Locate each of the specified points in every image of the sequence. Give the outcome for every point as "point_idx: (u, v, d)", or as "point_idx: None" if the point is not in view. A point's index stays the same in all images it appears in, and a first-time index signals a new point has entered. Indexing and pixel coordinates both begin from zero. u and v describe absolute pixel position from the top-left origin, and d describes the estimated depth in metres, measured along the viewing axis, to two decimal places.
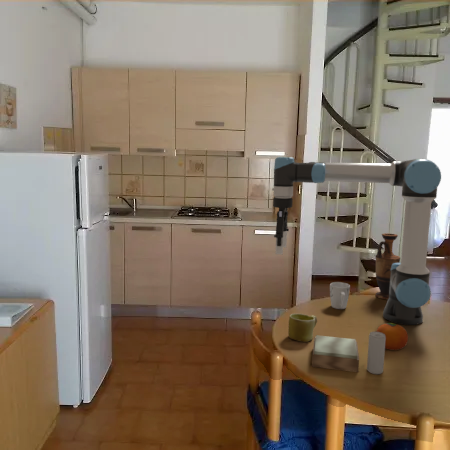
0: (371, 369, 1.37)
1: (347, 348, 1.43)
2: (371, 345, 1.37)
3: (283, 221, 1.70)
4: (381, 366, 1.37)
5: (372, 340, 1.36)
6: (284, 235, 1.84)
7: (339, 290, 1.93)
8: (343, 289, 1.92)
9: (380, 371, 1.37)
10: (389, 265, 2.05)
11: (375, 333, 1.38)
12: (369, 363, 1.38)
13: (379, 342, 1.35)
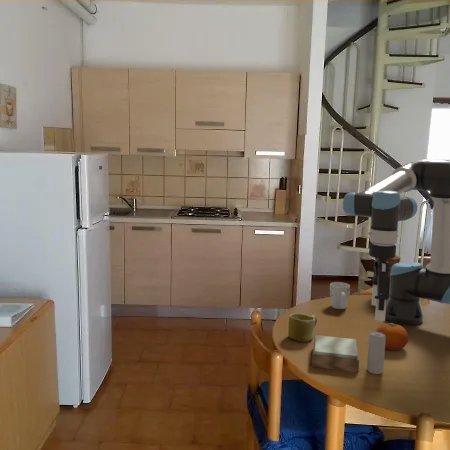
0: (371, 369, 1.37)
1: (347, 348, 1.43)
2: (371, 345, 1.37)
3: None
4: (381, 366, 1.37)
5: (372, 340, 1.36)
6: None
7: (339, 290, 1.93)
8: (343, 289, 1.92)
9: (380, 371, 1.37)
10: (389, 265, 2.05)
11: (375, 333, 1.38)
12: (369, 363, 1.38)
13: (379, 342, 1.35)
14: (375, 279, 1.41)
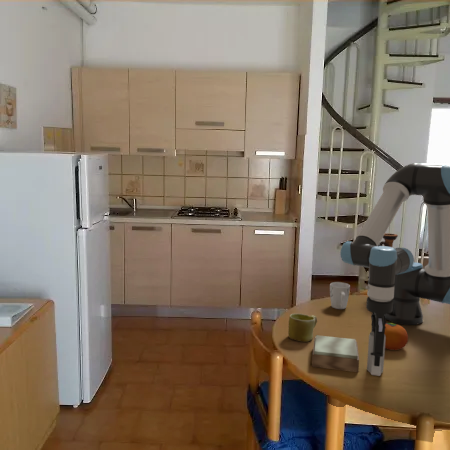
0: None
1: (347, 348, 1.43)
2: (371, 345, 1.37)
3: (383, 335, 1.32)
4: (381, 366, 1.37)
5: (372, 340, 1.36)
6: None
7: (339, 290, 1.93)
8: (343, 289, 1.92)
9: None
10: None
11: None
12: (369, 363, 1.38)
13: None
14: None
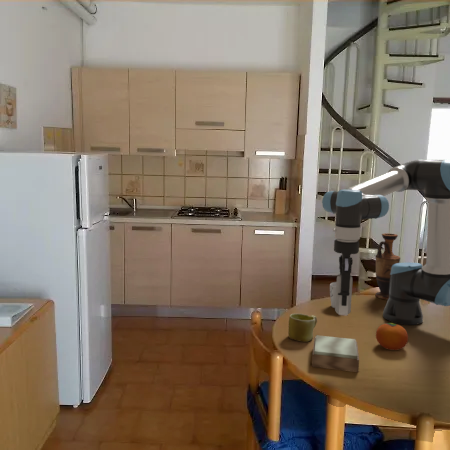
0: None
1: (347, 348, 1.43)
2: (338, 286, 1.41)
3: None
4: (348, 306, 1.41)
5: (339, 281, 1.40)
6: None
7: None
8: None
9: None
10: (389, 265, 2.05)
11: None
12: (337, 304, 1.42)
13: None
14: None
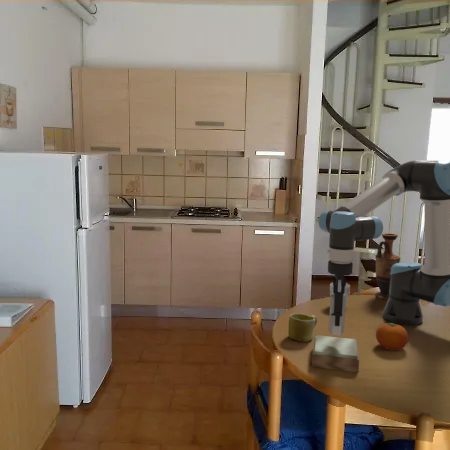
0: None
1: (347, 348, 1.43)
2: (331, 306, 1.43)
3: (342, 296, 1.38)
4: (341, 327, 1.43)
5: (332, 301, 1.42)
6: None
7: None
8: None
9: (341, 331, 1.43)
10: (389, 265, 2.05)
11: None
12: (330, 324, 1.44)
13: None
14: None
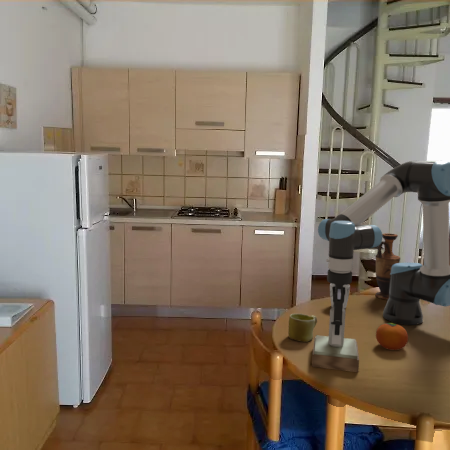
0: None
1: (347, 348, 1.43)
2: (331, 319, 1.44)
3: (342, 304, 1.38)
4: (341, 339, 1.44)
5: (332, 314, 1.43)
6: None
7: None
8: None
9: None
10: (389, 265, 2.05)
11: None
12: (330, 337, 1.45)
13: None
14: None
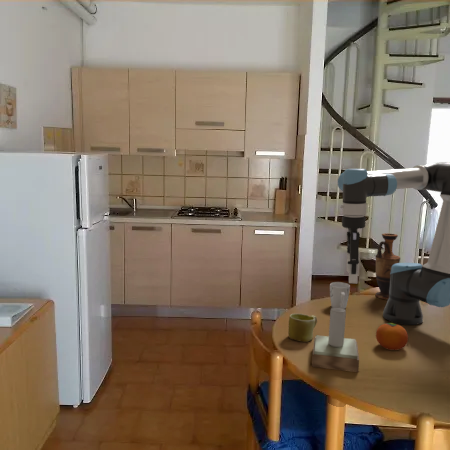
0: (332, 342, 1.44)
1: (347, 348, 1.43)
2: (331, 319, 1.44)
3: None
4: (341, 339, 1.44)
5: (332, 314, 1.43)
6: None
7: (339, 290, 1.93)
8: (343, 289, 1.92)
9: (340, 344, 1.44)
10: (389, 265, 2.05)
11: (336, 308, 1.45)
12: (330, 337, 1.45)
13: (339, 317, 1.42)
14: (349, 248, 1.58)
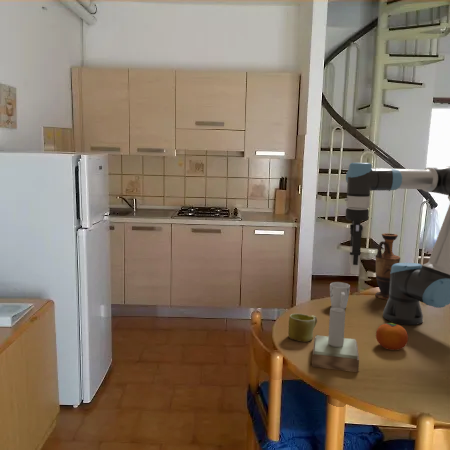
0: (332, 342, 1.44)
1: (347, 348, 1.43)
2: (331, 319, 1.44)
3: (360, 236, 1.48)
4: (341, 339, 1.44)
5: (332, 314, 1.43)
6: None
7: (339, 290, 1.93)
8: (343, 289, 1.92)
9: (340, 344, 1.44)
10: (389, 265, 2.05)
11: (336, 308, 1.45)
12: (330, 337, 1.45)
13: (339, 316, 1.42)
14: (352, 241, 1.61)
